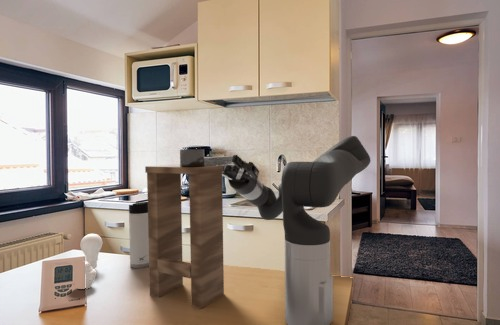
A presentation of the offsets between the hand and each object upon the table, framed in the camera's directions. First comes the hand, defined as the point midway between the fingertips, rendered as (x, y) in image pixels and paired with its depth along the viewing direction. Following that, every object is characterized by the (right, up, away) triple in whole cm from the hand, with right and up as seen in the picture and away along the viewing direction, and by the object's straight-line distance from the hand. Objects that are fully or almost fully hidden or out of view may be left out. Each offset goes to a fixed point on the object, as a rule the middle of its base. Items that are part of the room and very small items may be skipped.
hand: (220, 157), depth 92 cm
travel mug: (-26, -34, +17) cm, 46 cm away
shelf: (-8, -34, -5) cm, 35 cm away
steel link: (-2, -2, -4) cm, 5 cm away
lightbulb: (-40, -34, +13) cm, 54 cm away
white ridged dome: (-36, -34, 0) cm, 50 cm away
